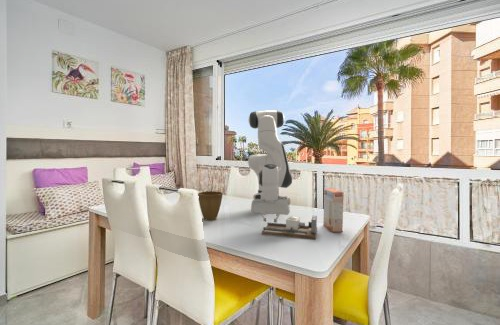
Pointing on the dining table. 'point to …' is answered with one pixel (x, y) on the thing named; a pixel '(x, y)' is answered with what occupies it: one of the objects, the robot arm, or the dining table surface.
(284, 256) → the dining table surface
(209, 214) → the plant pot
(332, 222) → the cracker box
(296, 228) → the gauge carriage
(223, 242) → the dining table surface
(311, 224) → the grey long frame
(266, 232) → the gauge bench
